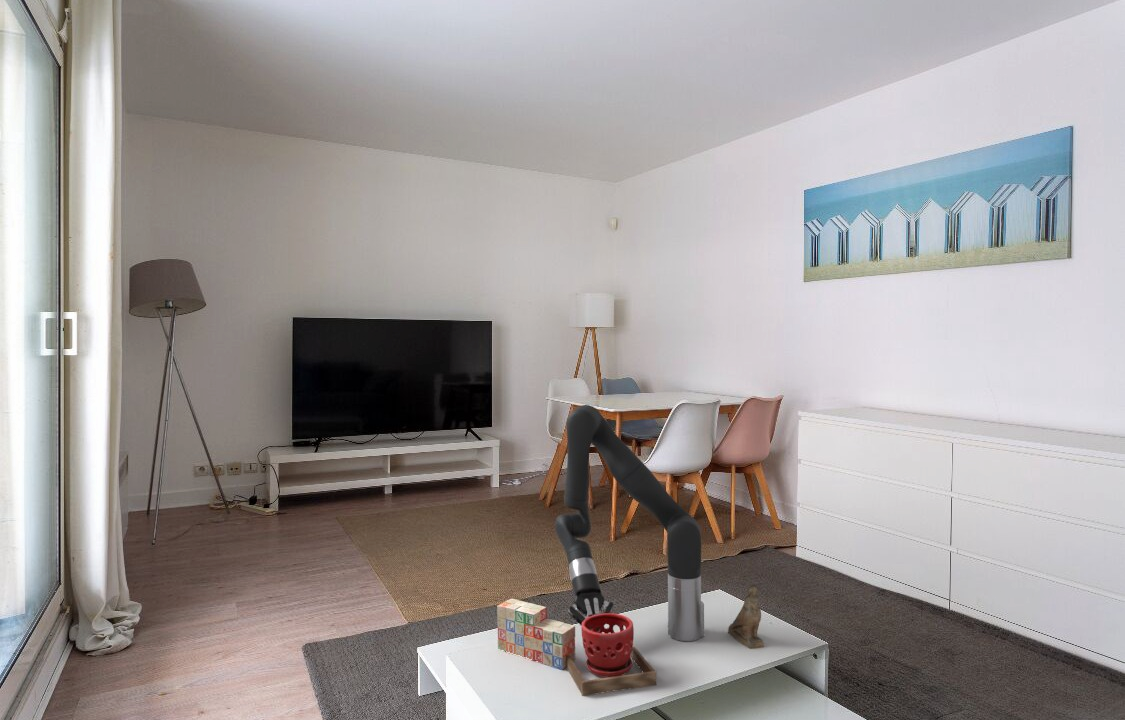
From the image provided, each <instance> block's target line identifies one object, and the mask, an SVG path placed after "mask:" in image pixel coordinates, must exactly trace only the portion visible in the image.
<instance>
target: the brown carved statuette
mask: <svg viewBox="0 0 1125 720" xmlns="http://www.w3.org/2000/svg"><path fill="white" fill-rule="evenodd" d="M758 589H759V588H758V586H757V585H750V587H748V589H747V592H748V595H747V596H745V599H744V602H743V606H742V607H741V609H740V611H739V612H738V614H737V616H736V617H735V618H734V620H733V621H732V623H730V625H729V626H728V629H727V633H728V634H729V635H730V636H731V637H732V638H733V639H735V640H736V641H738V643H741V644H742V645H744V646H746V647H747V648H748V649H751V650H753V649H757V648H763V647H765V645H764V642H763V639H762V638H760V637H758V631H759V626H760V623H761V620H762V610H761V608H760V606H759V602H760V598H759V595H758Z"/></svg>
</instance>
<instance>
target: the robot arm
mask: <svg viewBox="0 0 1125 720" xmlns="http://www.w3.org/2000/svg"><path fill="white" fill-rule="evenodd" d="M565 423H566V425H565V427H566V440H567V441H566V442H567V463H566V464H567V465H566V466H567V467H566V476H565V485H564V495H563V503H564V506H565V507H566V508H569V509H571V510H576V511H577V513H562V514H560V515H558V516H557V518H556V519H555V522H554V530H555V534H556V536H557V538H558V540H559V542H560V543H561V545H562V547H563V549H564V551H565V554H566V558H567V563H568V567H569V569H568V570H569V579H570V582H571V586H572V592H573V593H572V594H573V597H574V601H573V604H572V605H570V606H569V608H568V610H567V614H568V615H569V616H571V618H572V619H574V620H575V622H577V623H578V624H579V625H580V626H581V625H582V622H583V621H584V620H585V619H586V618H588V617H590V616H593V615H597V614H601V612H600V611H601V610H602V608H603V610H604V613H611V610H612V609H613V606H614V602H612V601H610V602H608V601H607V600H606V599H605V597H604V595H603V594H602V590H601V586H600V581H599V577H598V576H599V575H598V573H597V568H596V565H595V562H594V560H593V555H592V550H591V546H590V544H589V543H588V542H587V541H584V540H581V539H584V538H587V537H588V536H589V534H590V532H591V531H592V524H591V523H592V522H591V518H590V513H589V505H588V503H589V502H588V500H589V492H590V467H589V466H590V465H589V461H590V460H589V457H590V450H591V446H592V445H593V446H594V447H595V449H596V450H597V451H598V452H599V453H600V455H601V457H602V458H603V460H604V463H605V464H606V466H607V468H608V470H609V472H610V474H611V476H612V477H613V478H614V480H615V481H616V482H617V484H618V485H619V486H620V487H621V488H622V489H623V490H624V491H625V492H626V494H627V495H628V496H629V497H630V498H632V499H633V500H634V501H636V502H637V503H639V505H641V506H642V507H644V508H645V509H646V510H648V511H649V512H650V513H652V515H653V516H654V517H655V518H656V519H657V521H658V522H659V523H660V524H661V526H662V527H663V528H664V530H665V531H666V533H667V539H666V540H667V541H666V542H667V634H668V636H669V637H671V638H672V639H674V640H677V641H681V642H693V641H697V640H699V639H701V638H704V637H705V604H704V601H702V533H701V528H700V524H699V523H698V521H697V519H695V518H694V517H693V516H692V515H691V514H690V513H689V512H688V511H686V510H685V509H684V508H683V507H682V506H681V505H680V504H679V503H677V502H676V501H675V499H674V498H673V497H672V496H671V495H670V494H669V492H668V491H667V490H666V488H665V487H664V486H663V485H662V483H661V482H660V481H659V479H658V478H657V477H656V476H655V475H654V474H653V472H652V471H651V470H650V469H649V468H648V466H647V465H646V464H645V463H644V462H643V461H642V460H641V459H640V458H639V457H638V456H637V454H635V453H634V452H633V451H632V449H630V447H629V446H628V445H627V444H626V443H625V442H623V440H622V439H621V438H620V437H619V436H618V434H616V432H615V431H614V430H613V428H612V426H610V424H609V423H608V422H607V420H606V418H604V416H603V415H602V414H601V412H600V411H599V410H598V409H597V408H596V407H594V406H592V405H589V404H581V405H579V406H577V407H576V408H575V409H574V410H572V411H571V412H570V413H569V415H568V416H567V419H566V422H565ZM589 630H590V631H591V630H592V627H590V629H589ZM599 630H600V628H599V627H597V628H596V632H598V631H599Z"/></svg>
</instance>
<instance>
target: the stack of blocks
mask: <svg viewBox="0 0 1125 720" xmlns="http://www.w3.org/2000/svg"><path fill="white" fill-rule="evenodd" d="M496 611H497V614H496V616H497V617H496V619H497V650H498V649H500V650H499V651H501V650H504V651H507V652H510V653H513V654H516V655H520V656H522V657H527V658H529V659H532V660H531V661H533V660H536V661H538V662H537V663H539V662H542V663H541V664H543V665H545V664H546V666H550V667H553V668H554V669H558V670H561V671H562V670H564V669H567V668H566V656H568V655H569V656H570V657H571V659H572V661H573V662H575V661H576V625H574V624H569V623H566V622H563V621H559V620H555V619H551V618H548V611H547V607H546V606H543V605H539V604H535V603H532V602H531V603H530V602H527V601H523V600H519V599H517V598H516V599H515V598H510V599H507V600H505V601H504V602H502V603H500V604H498V605H497V606H496ZM504 651H503V652H504ZM507 652H506V653H507ZM510 653H509V654H510ZM513 654H512V655H513ZM516 655H515V656H516ZM522 657H521V658H522ZM529 659H528V660H529ZM536 661H535V662H536Z"/></svg>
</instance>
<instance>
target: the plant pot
mask: <svg viewBox="0 0 1125 720" xmlns="http://www.w3.org/2000/svg"><path fill="white" fill-rule="evenodd" d="M605 625H608V627H607V628H605ZM580 626H581V638H582V640H581V641H582V646H583V650H584V653H585V655H586V658H587V659H586V667H587V669H588V670H589V672H591V673H592V674H594V675H596V676H599V677H602V678H608V677H615V676H622V675H626V674H627V673H628V672H629V671H630V670H631V669H632V667H633V659H632V649H633V647H634V638H635V637H634V636H635V632H634V631H635V630H634V628H635V627H634V622H633V621H632V619H631V618H630V617H627V616H626V615H623V614H621V613H611V612H610V613H605V612H604V613H600V614H597V615H593V616H590V617H588V618H586V619H585V620H584V621H583V622H582V625H580ZM615 626H617V627H619V631H617V632H615V630H614V627H615ZM590 627H592V630H591V631H590V630H589V629H590ZM597 627H599V628H600V630H599V631H598V632H596V628H597ZM624 627H625V629H624Z"/></svg>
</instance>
